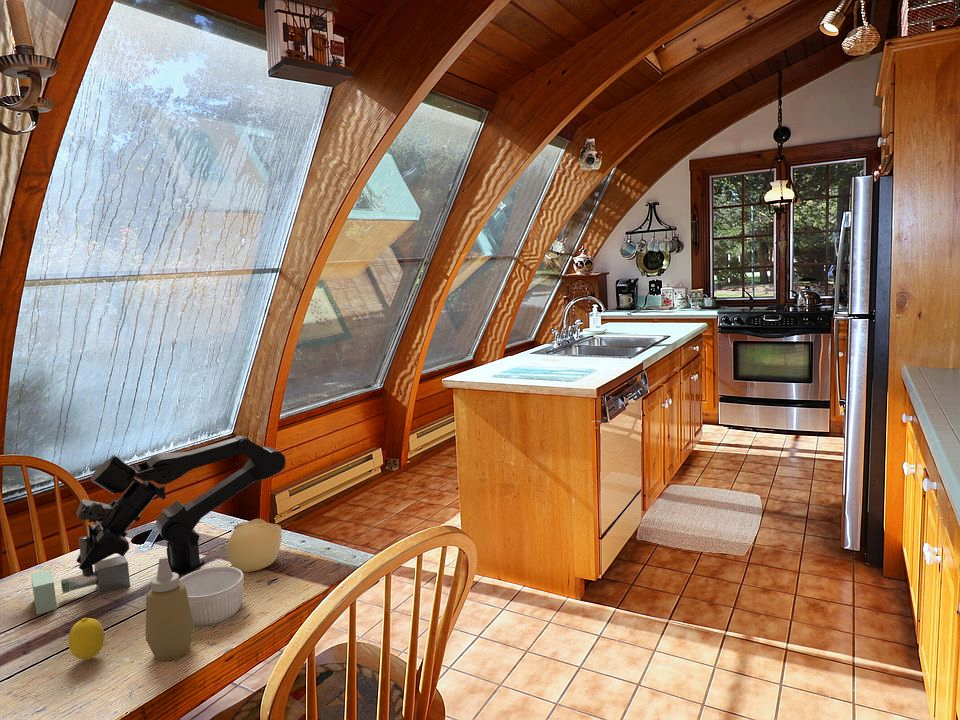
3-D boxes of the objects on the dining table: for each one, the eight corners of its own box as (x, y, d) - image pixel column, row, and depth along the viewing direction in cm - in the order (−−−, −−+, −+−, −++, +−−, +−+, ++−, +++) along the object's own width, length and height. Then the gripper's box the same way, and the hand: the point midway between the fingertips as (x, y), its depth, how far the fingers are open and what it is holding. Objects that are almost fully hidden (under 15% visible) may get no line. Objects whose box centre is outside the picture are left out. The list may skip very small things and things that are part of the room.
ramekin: (214, 634, 127) (211, 600, 126) (160, 624, 132) (157, 590, 131) (259, 601, 140) (257, 570, 139) (209, 592, 144) (206, 562, 143)
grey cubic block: (126, 578, 152) (123, 555, 151) (130, 585, 148) (127, 562, 147) (96, 586, 148) (93, 562, 148) (99, 594, 145) (96, 570, 144)
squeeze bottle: (148, 670, 116) (137, 572, 114) (147, 647, 123) (137, 555, 121) (198, 656, 120) (189, 561, 117) (194, 635, 127) (185, 545, 124)
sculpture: (289, 555, 162) (286, 513, 160) (265, 578, 150) (262, 532, 149) (246, 553, 164) (242, 511, 162) (219, 575, 152) (215, 530, 151)
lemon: (80, 652, 122) (75, 611, 121) (112, 649, 123) (107, 609, 122) (64, 670, 117) (59, 627, 116) (97, 667, 117) (92, 625, 116)
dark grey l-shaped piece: (124, 573, 151) (119, 527, 149) (126, 578, 148) (121, 531, 147) (61, 590, 144) (56, 542, 142) (63, 595, 141) (57, 546, 140)
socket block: (53, 594, 145) (50, 568, 144) (57, 609, 139) (53, 582, 138) (34, 600, 143) (30, 573, 142) (36, 614, 137) (33, 587, 136)
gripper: (93, 475, 152) (41, 534, 147) (105, 496, 137) (48, 562, 132) (134, 501, 158) (86, 558, 153) (151, 523, 143) (98, 587, 138)
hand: (79, 565), depth 144 cm, fingers open, 4 cm apart
